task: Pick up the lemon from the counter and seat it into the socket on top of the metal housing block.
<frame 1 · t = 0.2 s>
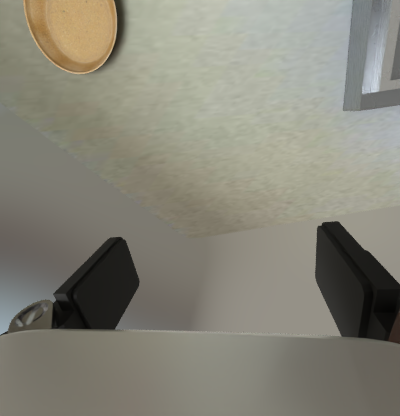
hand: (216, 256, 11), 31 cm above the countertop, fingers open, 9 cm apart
plant saucer: (81, 22, 35), on the countertop
housing: (396, 48, 30), on the countertop
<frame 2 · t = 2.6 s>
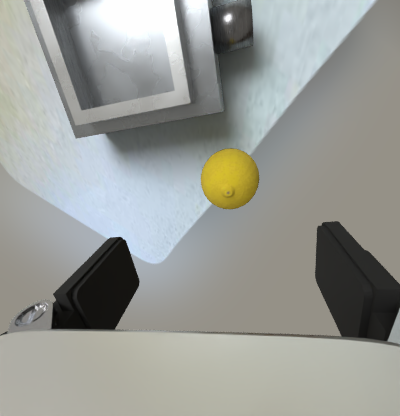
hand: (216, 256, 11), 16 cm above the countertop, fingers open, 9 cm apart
lemon: (231, 167, 25), on the countertop
housing: (146, 58, 22), on the countertop
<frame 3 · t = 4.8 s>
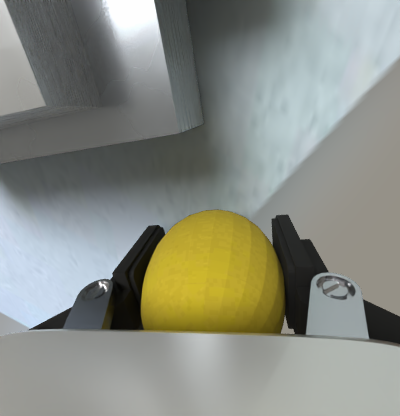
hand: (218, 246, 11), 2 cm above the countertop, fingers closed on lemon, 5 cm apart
lemon: (220, 230, 13), on the countertop, touching gripper
housing: (27, 7, 10), on the countertop
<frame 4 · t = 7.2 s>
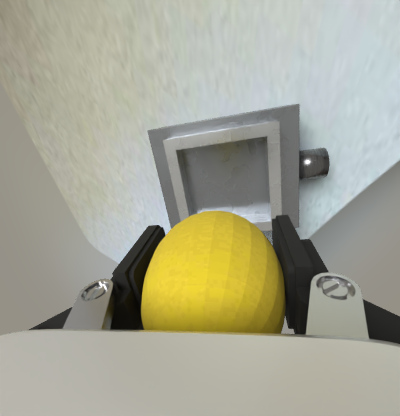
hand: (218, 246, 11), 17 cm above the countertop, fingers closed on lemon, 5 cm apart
lemon: (220, 230, 13), point 15 cm above the countertop, touching gripper
housing: (227, 169, 27), on the countertop
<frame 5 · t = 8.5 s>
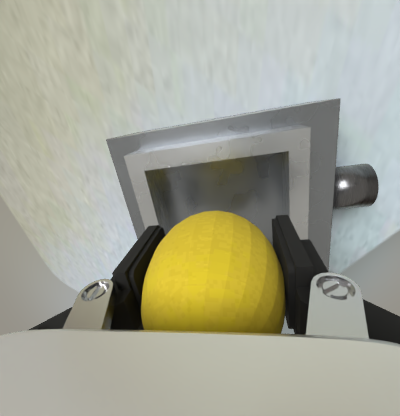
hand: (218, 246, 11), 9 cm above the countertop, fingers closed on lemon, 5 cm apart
lemon: (220, 231, 13), point 8 cm above the countertop, touching gripper
housing: (226, 189, 20), on the countertop
when the fingers open (8 cm above the countertop, at t = 9.5 s): lemon drops 2 cm, resting on housing.
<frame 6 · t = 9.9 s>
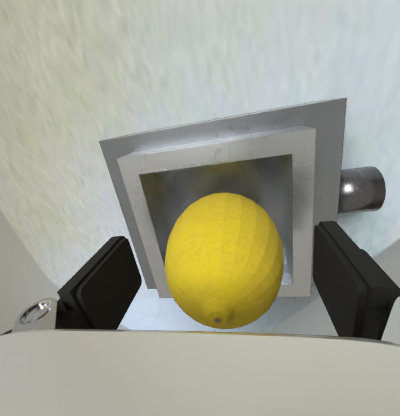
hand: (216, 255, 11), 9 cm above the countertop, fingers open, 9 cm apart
lemon: (227, 214, 15), point 5 cm above the countertop, touching housing
housing: (225, 192, 19), on the countertop
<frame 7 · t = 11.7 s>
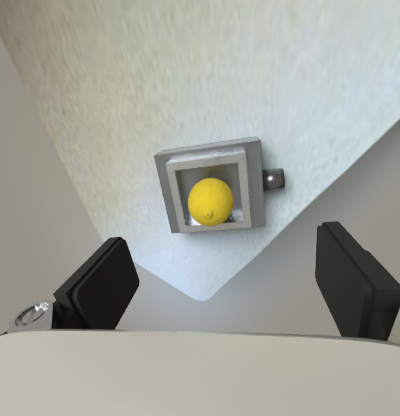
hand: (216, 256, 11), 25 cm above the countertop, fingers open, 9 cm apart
lemon: (213, 190, 31), point 5 cm above the countertop, touching housing
housing: (213, 181, 35), on the countertop
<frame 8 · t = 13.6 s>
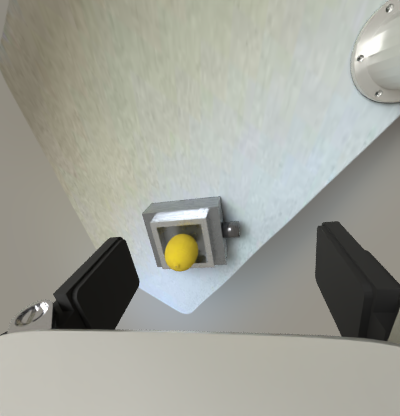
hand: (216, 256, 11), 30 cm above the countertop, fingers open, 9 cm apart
lemon: (186, 238, 41), point 5 cm above the countertop, touching housing
housing: (190, 226, 45), on the countertop
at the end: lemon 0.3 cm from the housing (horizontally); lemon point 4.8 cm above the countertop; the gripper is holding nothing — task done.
